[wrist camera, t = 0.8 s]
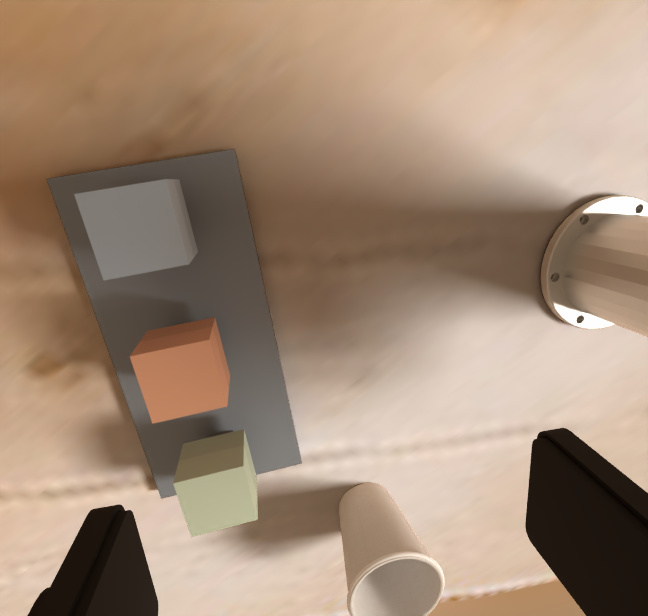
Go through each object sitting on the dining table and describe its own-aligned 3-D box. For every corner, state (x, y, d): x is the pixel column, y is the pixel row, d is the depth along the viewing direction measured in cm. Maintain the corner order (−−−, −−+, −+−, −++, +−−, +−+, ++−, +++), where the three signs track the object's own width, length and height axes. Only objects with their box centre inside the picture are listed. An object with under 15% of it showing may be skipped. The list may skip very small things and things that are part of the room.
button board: (234, 150, 31) (233, 146, 28) (300, 455, 40) (304, 479, 37) (54, 179, 30) (30, 178, 26) (163, 489, 38) (156, 517, 35)
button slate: (179, 179, 28) (165, 179, 23) (198, 251, 29) (189, 264, 25) (102, 192, 27) (74, 194, 23) (125, 265, 29) (103, 280, 24)
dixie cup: (354, 550, 45) (382, 648, 35) (309, 504, 42) (327, 598, 32) (417, 505, 44) (462, 593, 35) (376, 456, 42) (413, 537, 32)
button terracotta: (214, 317, 31) (209, 339, 26) (230, 375, 33) (227, 406, 28) (147, 331, 30) (129, 356, 26) (165, 390, 32) (152, 423, 28)
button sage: (244, 429, 34) (243, 465, 30) (256, 477, 36) (258, 519, 31) (183, 443, 34) (173, 483, 29) (198, 492, 35) (191, 537, 31)
